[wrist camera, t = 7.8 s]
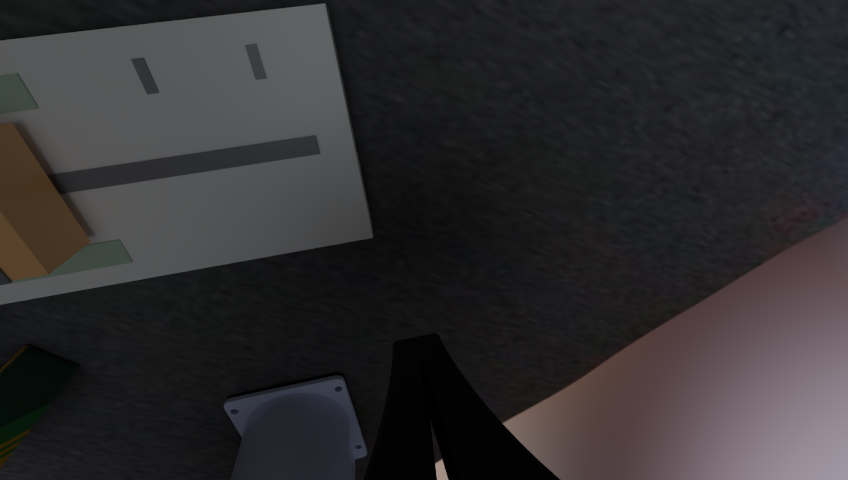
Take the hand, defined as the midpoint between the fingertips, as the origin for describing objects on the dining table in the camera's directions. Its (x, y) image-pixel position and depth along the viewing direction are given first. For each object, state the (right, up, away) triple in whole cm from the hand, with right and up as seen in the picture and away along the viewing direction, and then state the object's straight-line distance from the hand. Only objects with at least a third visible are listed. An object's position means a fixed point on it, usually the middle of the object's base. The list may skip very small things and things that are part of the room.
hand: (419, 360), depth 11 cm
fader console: (-14, +7, +5) cm, 17 cm away
